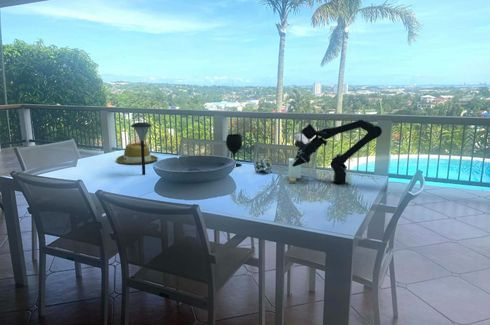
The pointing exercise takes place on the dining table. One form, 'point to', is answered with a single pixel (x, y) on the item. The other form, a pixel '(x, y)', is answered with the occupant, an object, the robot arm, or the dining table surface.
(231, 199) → the dining table surface
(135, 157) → the fedora
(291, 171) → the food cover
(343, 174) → the robot arm
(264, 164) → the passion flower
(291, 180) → the bowl
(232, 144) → the wine glass
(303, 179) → the placemat
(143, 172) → the solar garden light
